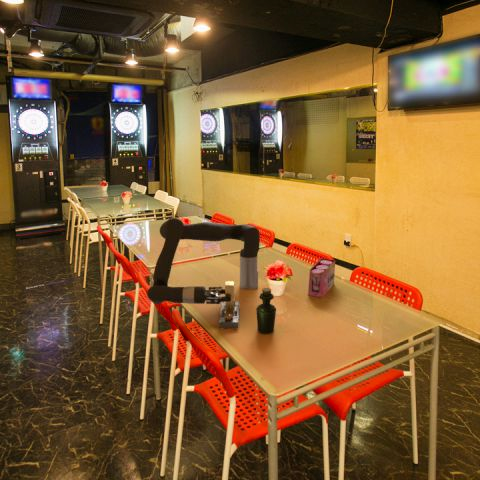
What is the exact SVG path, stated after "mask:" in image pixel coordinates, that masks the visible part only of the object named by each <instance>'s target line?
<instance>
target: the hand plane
mask: <svg viewBox="0 0 480 480" xmlns="http://www.w3.org/2000/svg"><path fill="white" fill-rule="evenodd" d="M239 320H240V301H236V298H235V297H234V314H230V313H228V314H226V313H225V302H221V308H220V314H219V321H218V329H219V328H238V329H239V324H240V323H239V322H240V321H239Z"/></svg>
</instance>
